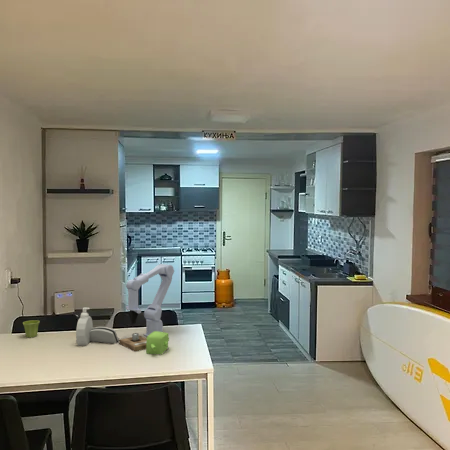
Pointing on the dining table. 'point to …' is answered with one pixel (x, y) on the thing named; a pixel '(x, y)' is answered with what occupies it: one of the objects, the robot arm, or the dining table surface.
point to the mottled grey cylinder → (135, 337)
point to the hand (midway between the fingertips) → (133, 323)
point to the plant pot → (31, 328)
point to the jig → (134, 343)
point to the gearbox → (157, 342)
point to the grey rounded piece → (103, 335)
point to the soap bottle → (84, 328)
